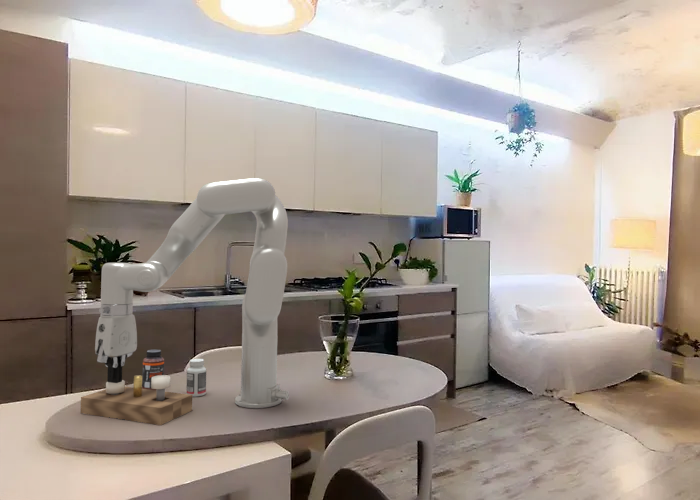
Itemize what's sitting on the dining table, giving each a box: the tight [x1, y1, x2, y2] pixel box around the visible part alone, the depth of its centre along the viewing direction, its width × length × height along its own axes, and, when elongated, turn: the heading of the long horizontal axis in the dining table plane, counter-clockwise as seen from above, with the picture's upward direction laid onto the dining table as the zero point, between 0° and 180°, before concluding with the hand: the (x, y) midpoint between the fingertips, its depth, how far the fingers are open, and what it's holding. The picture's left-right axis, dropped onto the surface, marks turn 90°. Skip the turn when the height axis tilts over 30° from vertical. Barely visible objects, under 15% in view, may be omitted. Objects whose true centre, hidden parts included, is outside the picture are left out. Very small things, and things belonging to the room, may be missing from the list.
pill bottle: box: [186, 358, 207, 398], centre depth 145 cm, size 5×5×10 cm
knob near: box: [151, 374, 171, 401], centre depth 126 cm, size 4×4×6 cm
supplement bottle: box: [142, 349, 165, 390], centre depth 150 cm, size 6×6×11 cm
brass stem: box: [133, 374, 142, 397], centre depth 128 cm, size 2×2×5 cm
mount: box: [80, 386, 193, 426], centre depth 128 cm, size 24×12×4 cm, turn 72°
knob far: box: [105, 379, 126, 395], centre depth 130 cm, size 4×4×6 cm
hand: (114, 381), depth 130 cm, fingers closed
